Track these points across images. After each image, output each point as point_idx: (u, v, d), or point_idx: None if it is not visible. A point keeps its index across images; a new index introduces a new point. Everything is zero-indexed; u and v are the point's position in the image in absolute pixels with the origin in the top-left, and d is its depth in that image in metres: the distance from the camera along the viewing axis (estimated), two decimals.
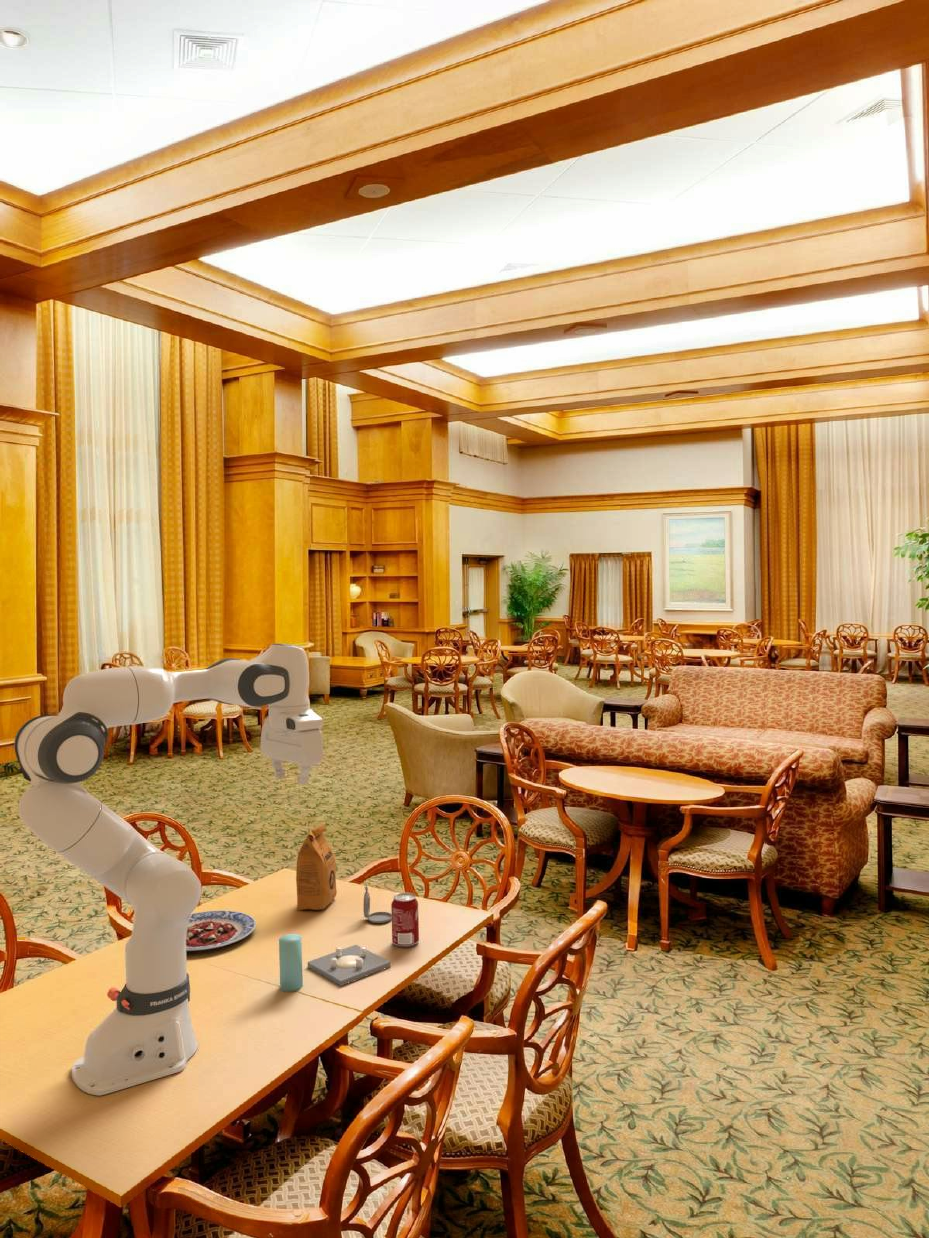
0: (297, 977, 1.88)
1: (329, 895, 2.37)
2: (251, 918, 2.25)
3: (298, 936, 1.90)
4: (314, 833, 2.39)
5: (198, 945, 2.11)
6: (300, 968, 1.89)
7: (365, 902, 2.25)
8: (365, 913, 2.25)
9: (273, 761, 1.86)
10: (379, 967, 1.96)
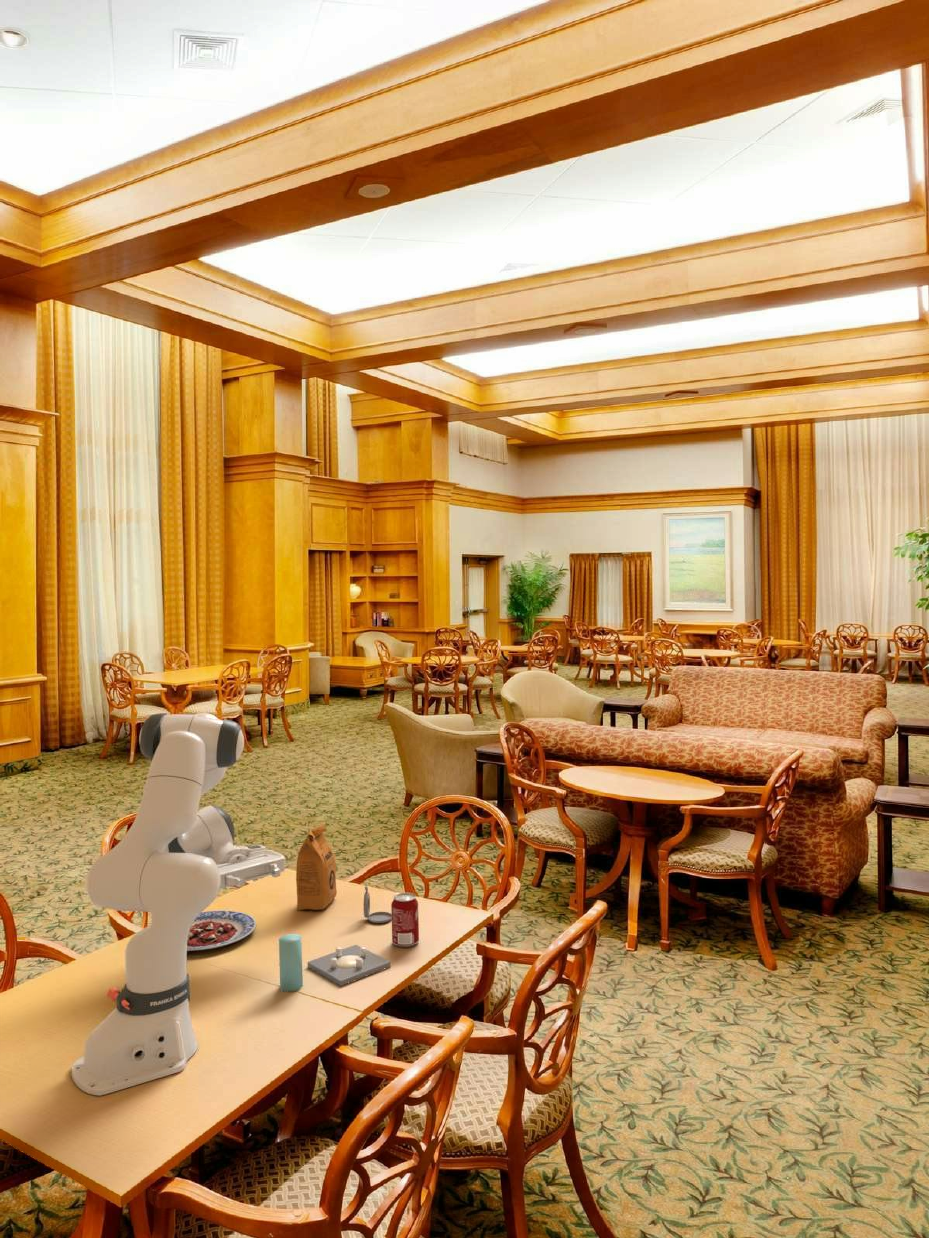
0: (297, 977, 1.88)
1: (329, 895, 2.37)
2: (251, 918, 2.25)
3: (298, 936, 1.90)
4: (314, 833, 2.39)
5: (198, 945, 2.11)
6: (300, 968, 1.89)
7: (365, 902, 2.25)
8: (365, 913, 2.25)
9: (231, 875, 1.98)
10: (379, 967, 1.96)
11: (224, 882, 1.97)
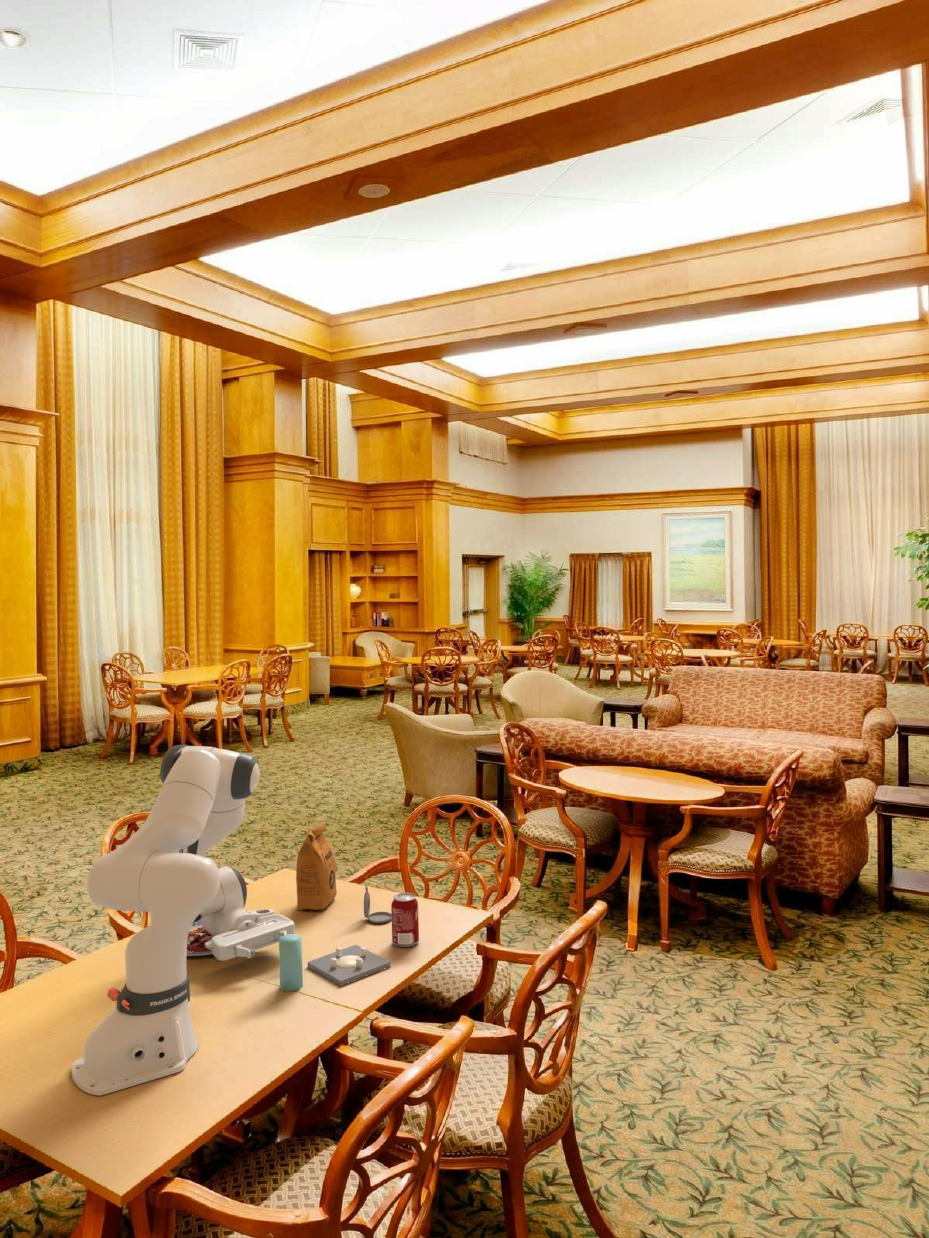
0: (297, 977, 1.88)
1: (329, 895, 2.37)
2: None
3: (298, 936, 1.90)
4: (314, 833, 2.39)
5: (199, 950, 2.09)
6: (300, 968, 1.89)
7: (365, 902, 2.25)
8: (365, 913, 2.24)
9: (240, 945, 1.95)
10: (379, 967, 1.96)
11: (234, 952, 1.95)
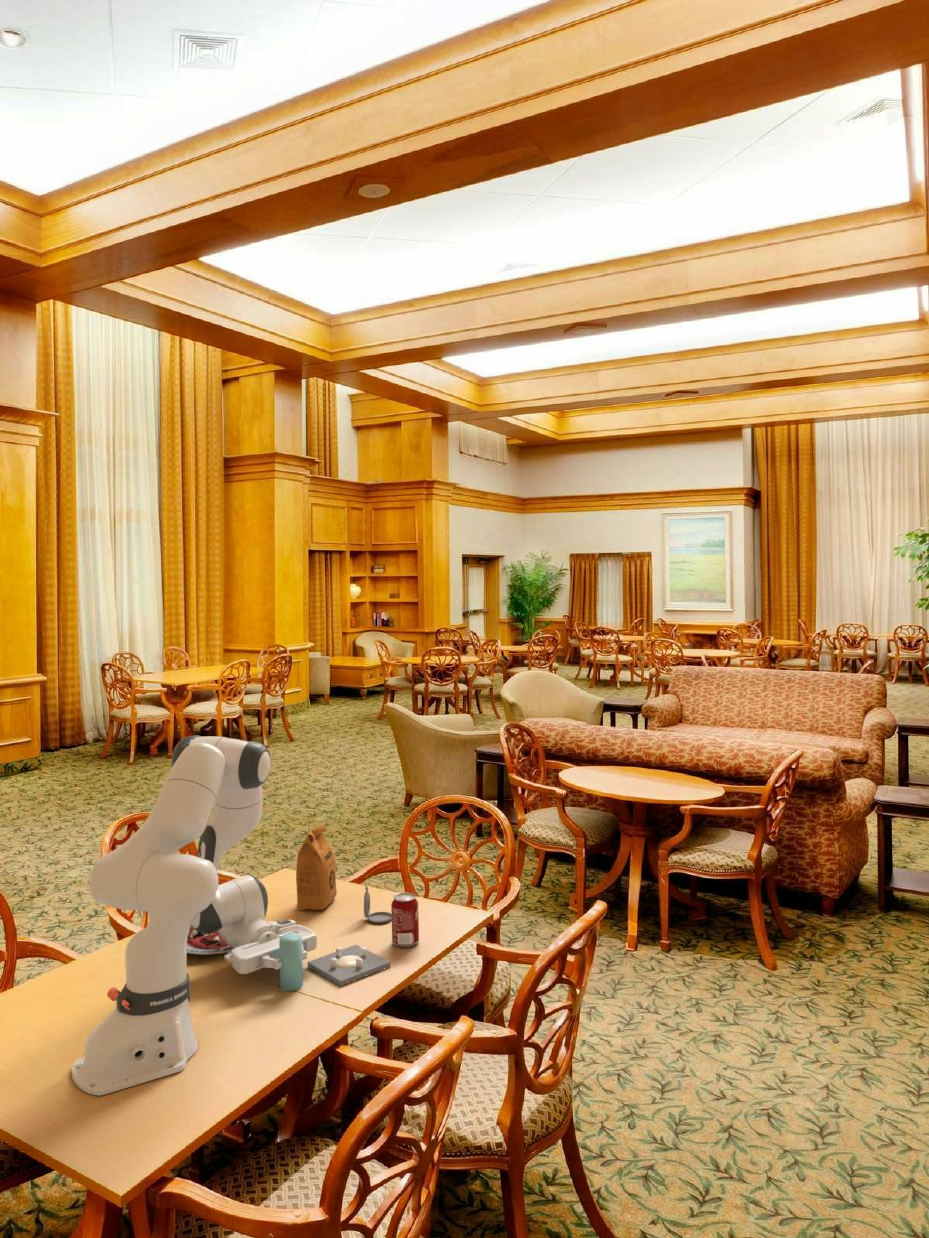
0: (297, 977, 1.88)
1: (329, 895, 2.37)
2: None
3: (298, 936, 1.90)
4: (314, 833, 2.39)
5: (201, 946, 2.08)
6: (300, 968, 1.89)
7: (365, 902, 2.25)
8: (365, 913, 2.25)
9: (267, 956, 1.89)
10: (379, 967, 1.96)
11: (254, 965, 1.88)
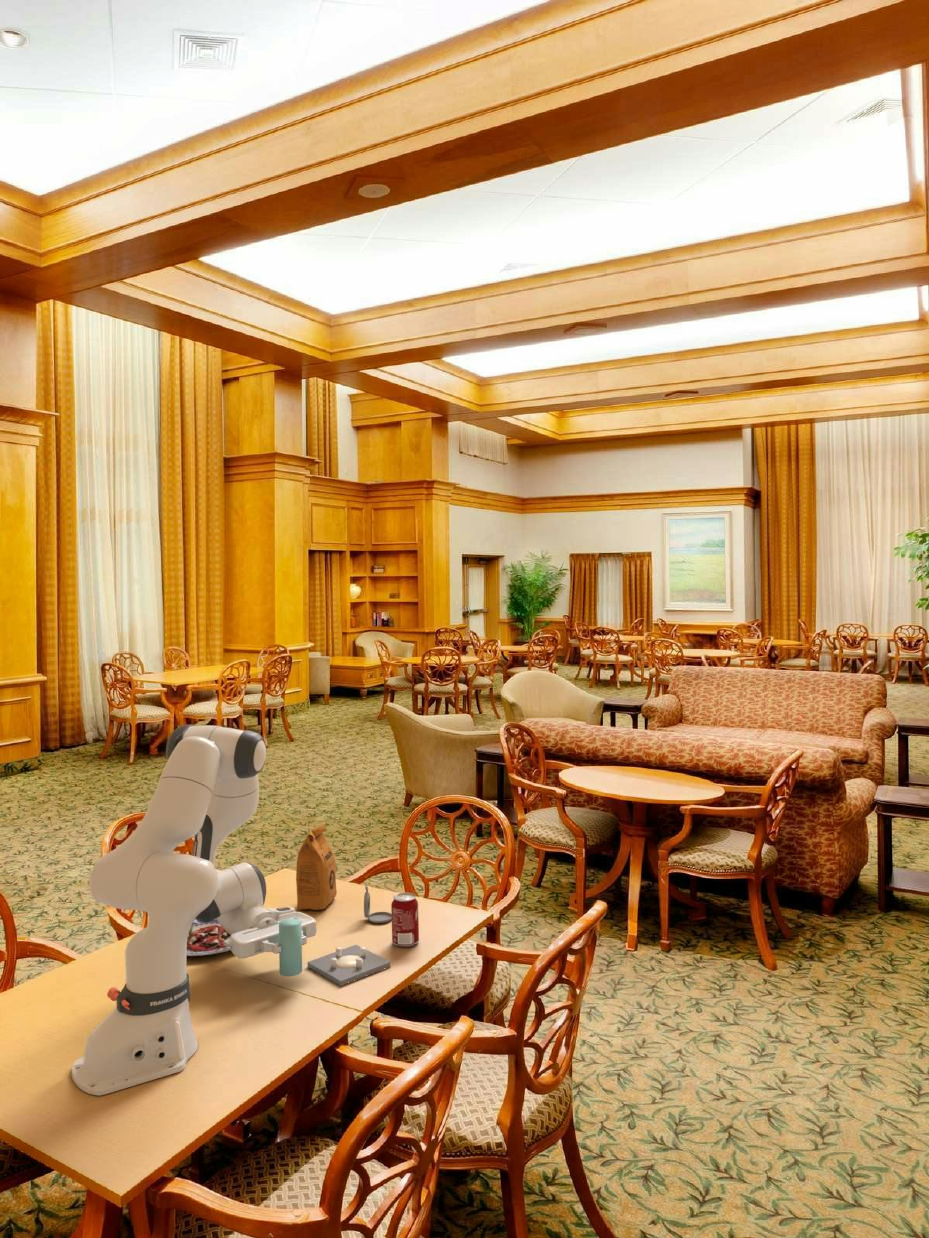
0: (297, 962, 1.87)
1: (329, 895, 2.37)
2: None
3: (298, 921, 1.90)
4: (314, 833, 2.39)
5: (201, 950, 2.08)
6: (300, 953, 1.88)
7: (365, 902, 2.25)
8: (365, 913, 2.24)
9: (267, 941, 1.88)
10: (379, 967, 1.96)
11: (254, 950, 1.87)
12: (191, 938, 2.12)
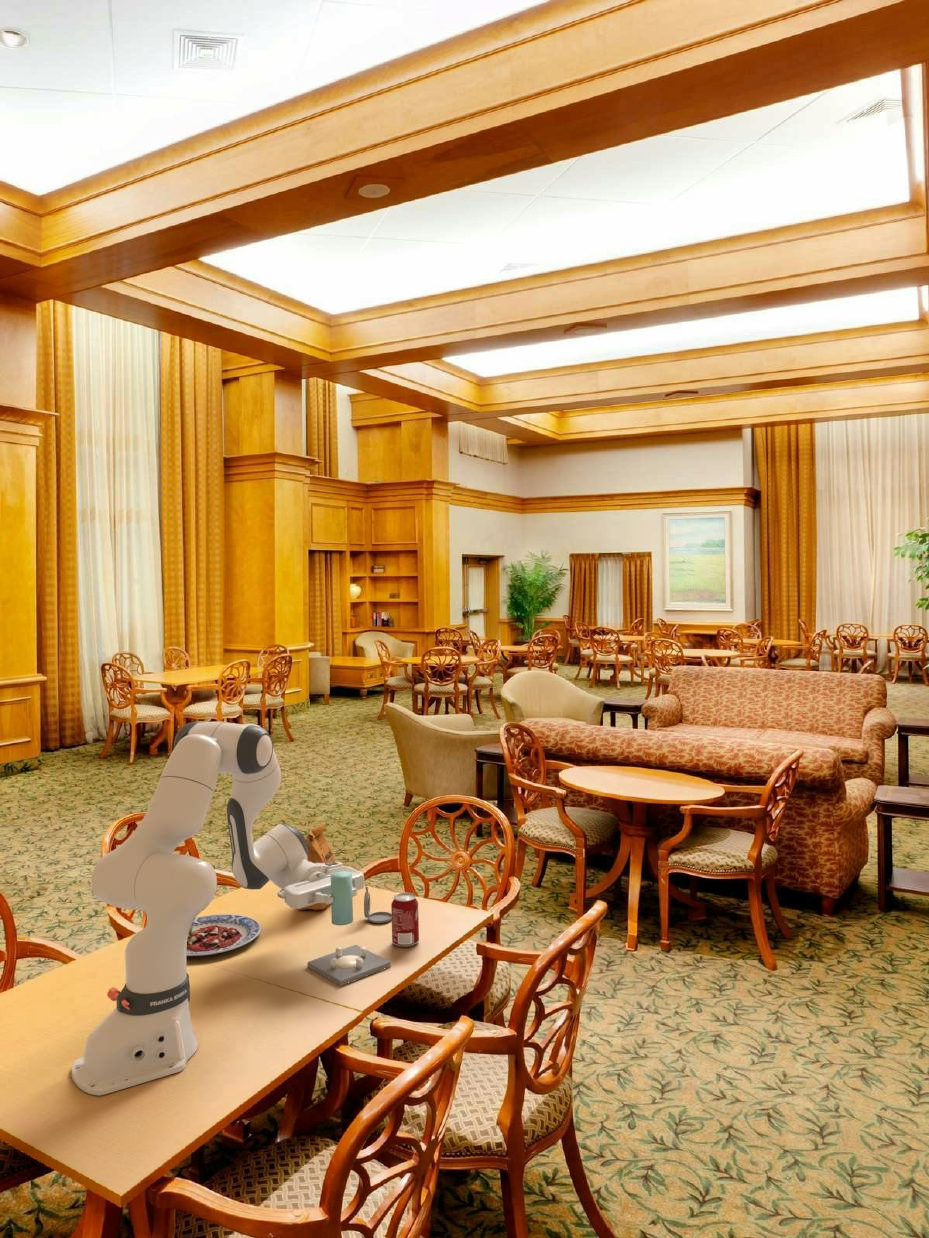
0: (348, 912, 1.96)
1: None
2: (256, 923, 2.22)
3: (348, 873, 1.98)
4: (314, 833, 2.39)
5: (200, 950, 2.08)
6: (351, 903, 1.97)
7: (365, 902, 2.25)
8: (365, 913, 2.24)
9: (319, 892, 1.97)
10: (379, 967, 1.96)
11: (307, 901, 1.96)
12: (191, 938, 2.12)
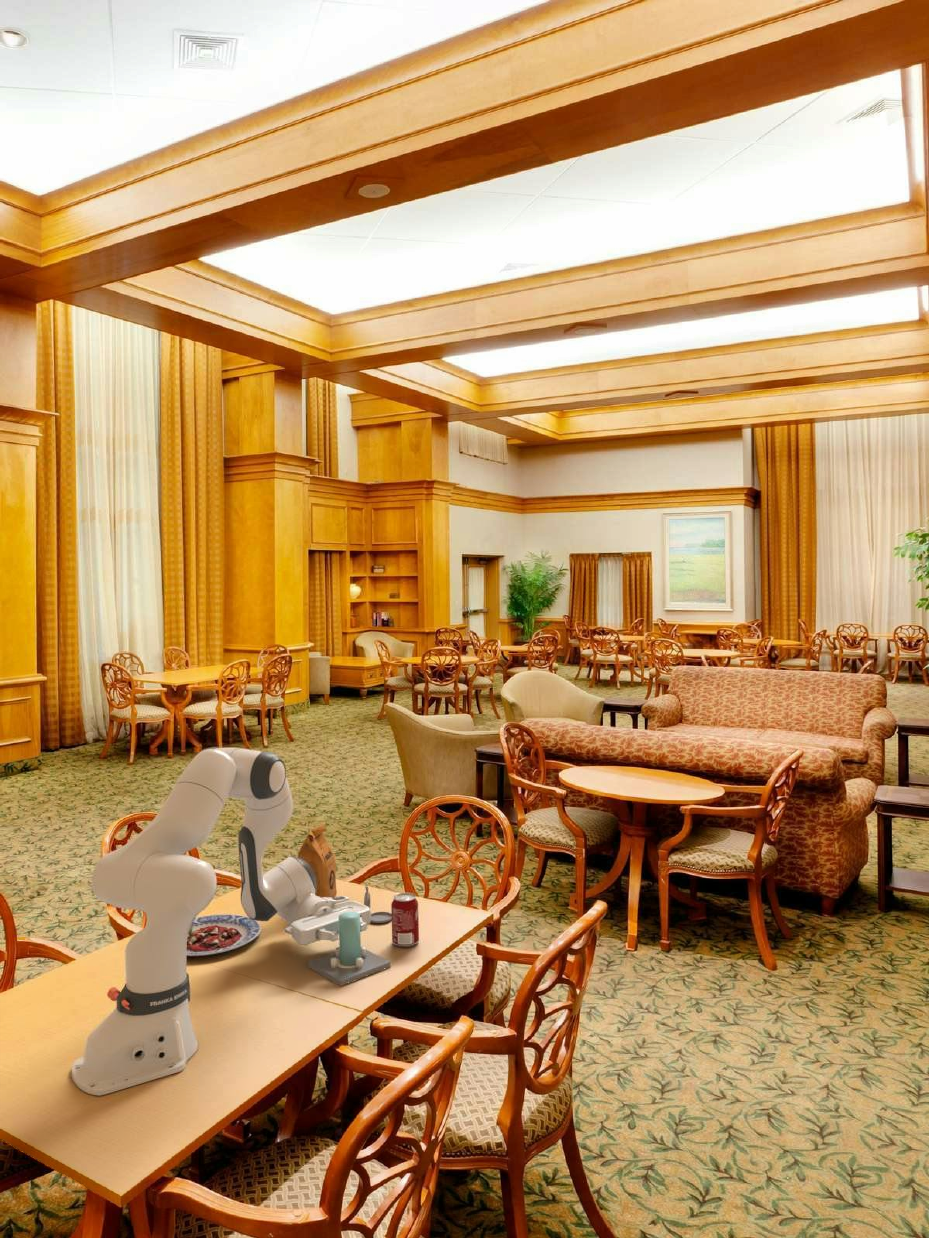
0: (357, 953, 1.97)
1: (329, 895, 2.37)
2: (256, 923, 2.22)
3: (356, 914, 1.99)
4: (314, 833, 2.39)
5: (201, 950, 2.08)
6: (359, 944, 1.98)
7: (366, 902, 2.25)
8: None
9: (324, 929, 1.98)
10: (379, 967, 1.96)
11: (314, 937, 1.97)
12: (191, 938, 2.12)
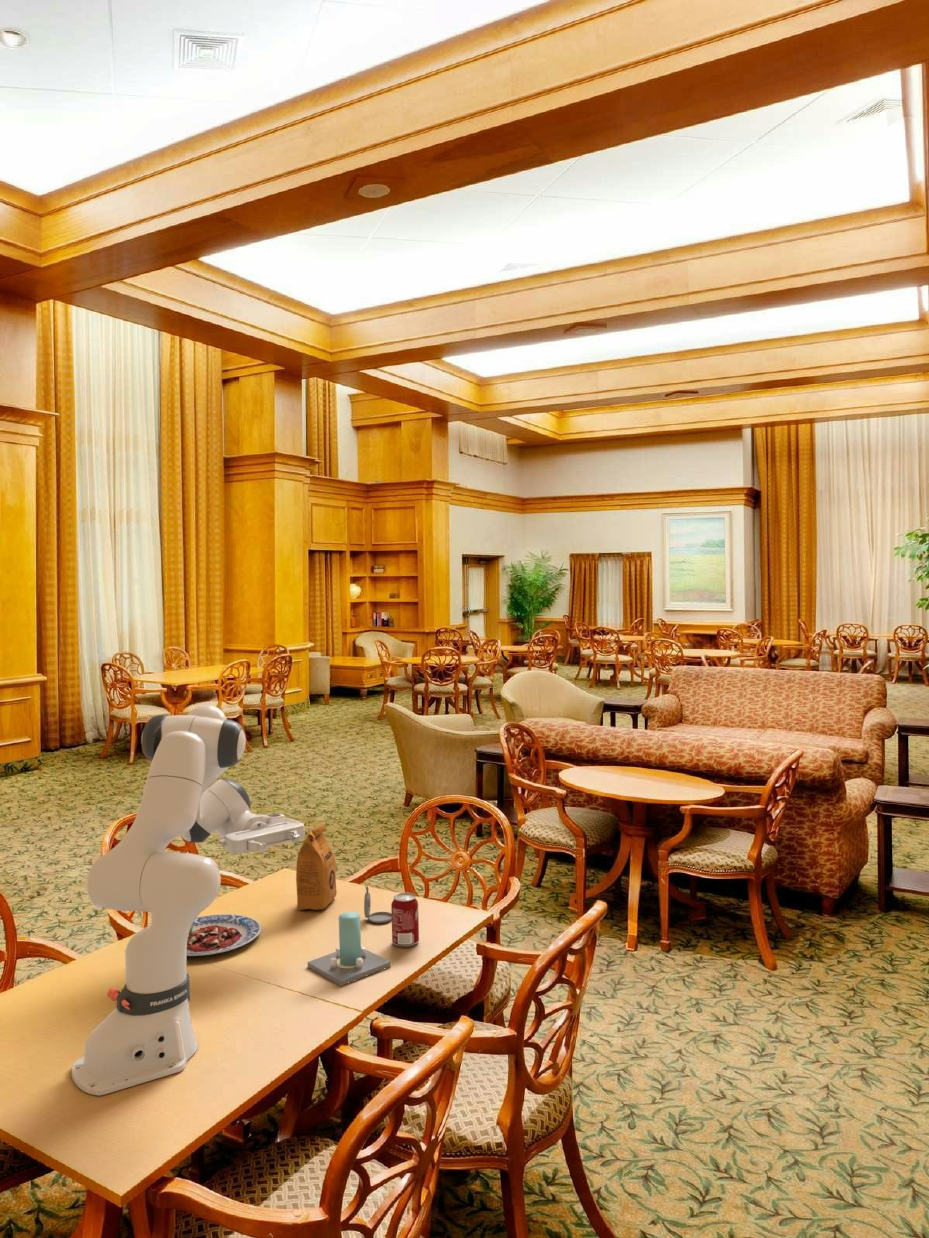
0: (357, 953, 1.97)
1: (329, 895, 2.37)
2: (256, 923, 2.22)
3: (357, 914, 1.99)
4: (314, 833, 2.39)
5: (200, 950, 2.08)
6: (359, 944, 1.98)
7: (366, 902, 2.25)
8: (366, 913, 2.24)
9: (253, 840, 2.04)
10: (379, 967, 1.96)
11: (246, 847, 2.03)
12: (191, 938, 2.12)
